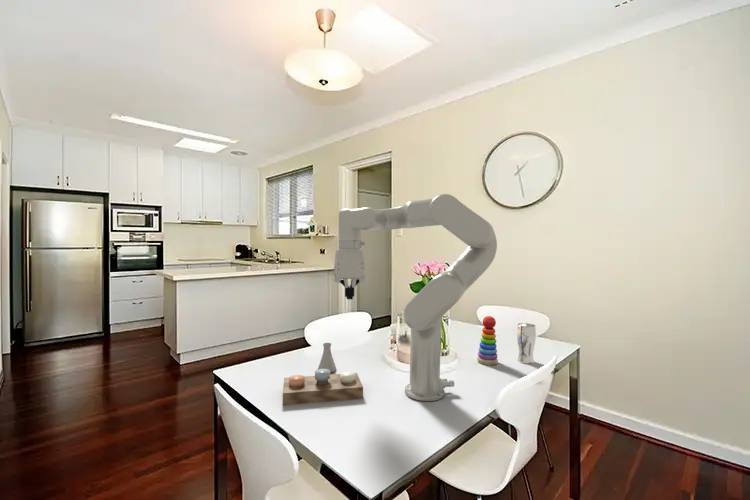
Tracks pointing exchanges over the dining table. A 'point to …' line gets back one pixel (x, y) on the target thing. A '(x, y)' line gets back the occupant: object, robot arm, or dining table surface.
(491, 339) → the stacking toy
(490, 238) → the robot arm
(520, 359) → the beer glass
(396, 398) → the dining table surface
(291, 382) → the terracotta button
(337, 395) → the button panel
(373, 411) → the dining table surface
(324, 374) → the slate button
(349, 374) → the ivory button
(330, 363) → the flask
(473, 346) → the dining table surface
